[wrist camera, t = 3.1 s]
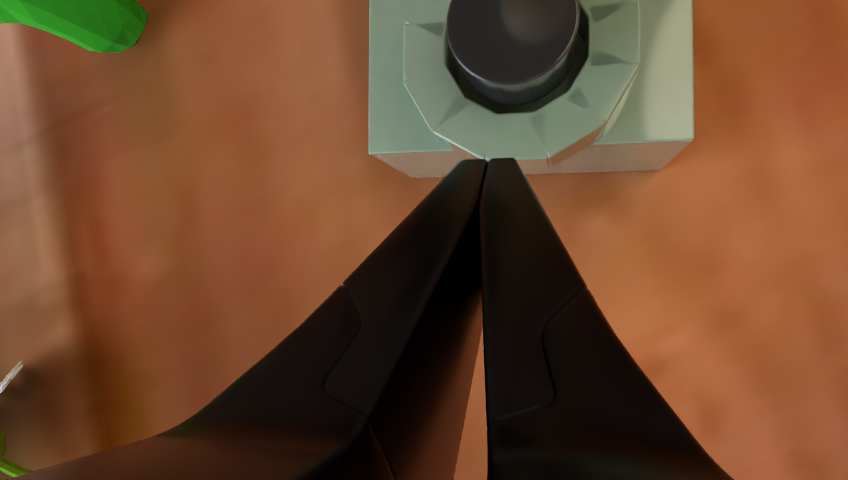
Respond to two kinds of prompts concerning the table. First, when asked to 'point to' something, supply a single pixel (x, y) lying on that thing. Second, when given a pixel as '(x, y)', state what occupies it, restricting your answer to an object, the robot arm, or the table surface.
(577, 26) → the button
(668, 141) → the lamp base
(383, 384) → the robot arm
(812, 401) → the table surface
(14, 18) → the flower
